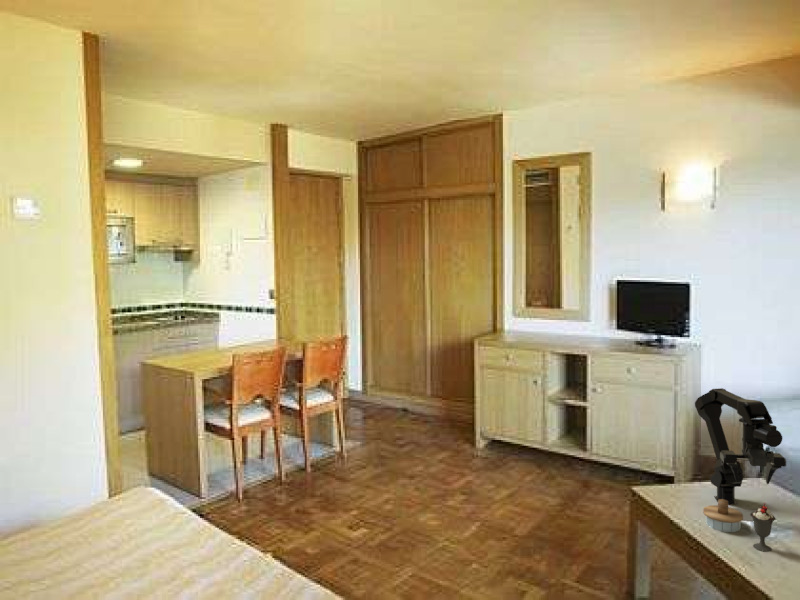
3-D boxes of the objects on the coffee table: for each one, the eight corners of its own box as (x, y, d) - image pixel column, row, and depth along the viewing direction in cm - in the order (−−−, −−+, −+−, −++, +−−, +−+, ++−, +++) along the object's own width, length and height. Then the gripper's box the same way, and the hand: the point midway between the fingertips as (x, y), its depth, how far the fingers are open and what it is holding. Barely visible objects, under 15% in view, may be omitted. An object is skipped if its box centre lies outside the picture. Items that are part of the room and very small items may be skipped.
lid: (700, 506, 201) (700, 492, 200) (737, 509, 197) (737, 495, 197) (707, 520, 190) (707, 506, 189) (747, 524, 186) (747, 509, 186)
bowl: (702, 518, 200) (703, 507, 200) (735, 521, 197) (735, 510, 197) (709, 531, 190) (709, 520, 190) (744, 535, 188) (744, 523, 187)
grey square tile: (724, 509, 207) (724, 507, 207) (756, 511, 204) (756, 509, 204) (732, 521, 198) (732, 519, 197) (765, 524, 195) (765, 522, 195)
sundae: (763, 554, 175) (763, 506, 174) (744, 544, 182) (745, 497, 181) (780, 551, 177) (781, 503, 176) (761, 541, 183) (762, 495, 182)
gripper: (728, 443, 192) (727, 489, 193) (792, 446, 187) (792, 494, 188) (719, 433, 203) (719, 477, 204) (780, 436, 198) (780, 481, 199)
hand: (752, 482), depth 199 cm, fingers open, 9 cm apart
